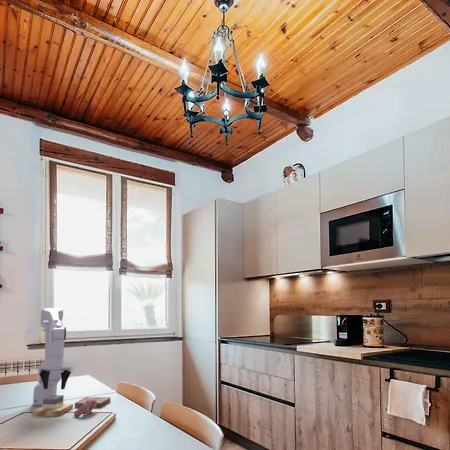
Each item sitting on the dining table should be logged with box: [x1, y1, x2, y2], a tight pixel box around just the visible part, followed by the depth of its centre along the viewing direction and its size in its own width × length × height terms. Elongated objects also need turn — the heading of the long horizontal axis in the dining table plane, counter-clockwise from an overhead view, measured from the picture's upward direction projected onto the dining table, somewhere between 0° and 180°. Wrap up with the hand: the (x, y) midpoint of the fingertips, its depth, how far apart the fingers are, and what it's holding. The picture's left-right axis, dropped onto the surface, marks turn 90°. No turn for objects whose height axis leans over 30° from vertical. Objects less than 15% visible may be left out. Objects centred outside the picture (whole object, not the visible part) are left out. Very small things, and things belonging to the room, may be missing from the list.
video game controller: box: [73, 399, 97, 417], centre depth 173 cm, size 10×5×7 cm, turn 169°
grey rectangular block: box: [42, 394, 65, 410], centre depth 177 cm, size 5×8×4 cm, turn 176°
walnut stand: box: [74, 396, 111, 409], centre depth 190 cm, size 12×12×2 cm
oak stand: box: [31, 403, 74, 417], centre depth 177 cm, size 12×12×2 cm
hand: (54, 388), depth 178 cm, fingers open, 7 cm apart
